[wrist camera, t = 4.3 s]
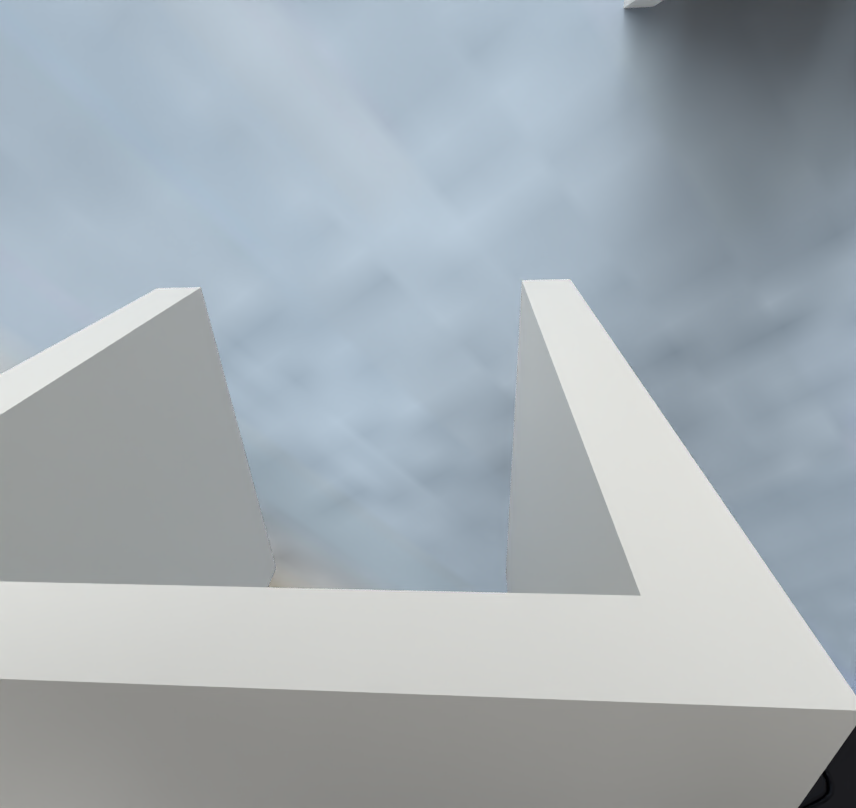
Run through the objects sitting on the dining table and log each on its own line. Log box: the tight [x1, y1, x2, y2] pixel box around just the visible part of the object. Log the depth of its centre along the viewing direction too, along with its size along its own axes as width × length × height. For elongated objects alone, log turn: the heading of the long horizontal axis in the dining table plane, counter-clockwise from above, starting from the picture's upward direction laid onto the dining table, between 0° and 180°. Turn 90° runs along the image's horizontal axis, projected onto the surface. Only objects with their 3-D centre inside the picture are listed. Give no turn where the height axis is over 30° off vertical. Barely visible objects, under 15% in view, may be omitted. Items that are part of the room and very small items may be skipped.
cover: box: [0, 279, 856, 808], centre depth 7 cm, size 7×7×7 cm
